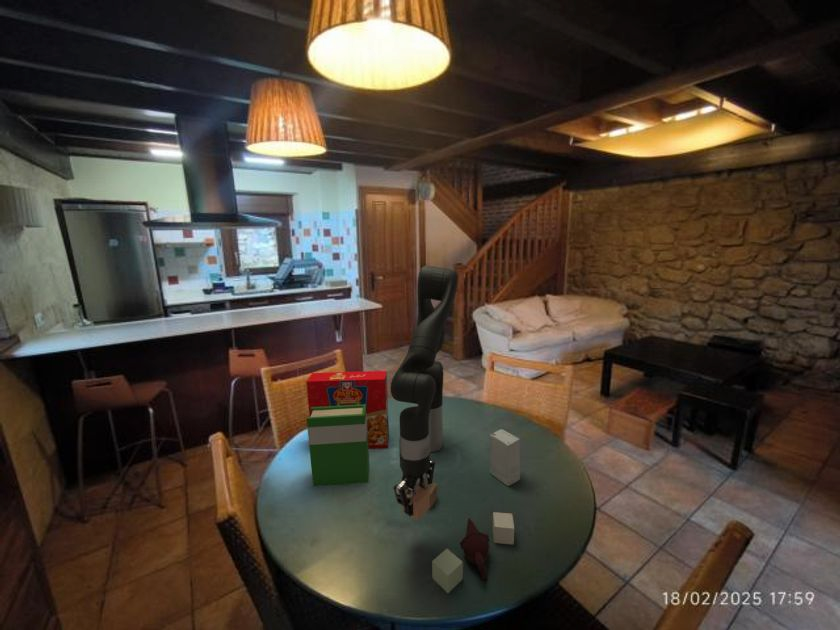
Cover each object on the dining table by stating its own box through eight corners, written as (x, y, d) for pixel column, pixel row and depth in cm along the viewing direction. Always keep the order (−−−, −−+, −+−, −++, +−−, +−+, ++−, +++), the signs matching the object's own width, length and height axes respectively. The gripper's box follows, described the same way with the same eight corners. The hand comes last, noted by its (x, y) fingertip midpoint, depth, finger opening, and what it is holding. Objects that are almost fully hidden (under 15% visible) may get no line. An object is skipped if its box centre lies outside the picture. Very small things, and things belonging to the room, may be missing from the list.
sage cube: (432, 578, 85) (432, 561, 84) (447, 565, 88) (447, 548, 87) (447, 593, 81) (447, 575, 80) (462, 579, 84) (462, 561, 83)
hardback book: (313, 486, 116) (306, 418, 110) (317, 471, 123) (311, 407, 118) (368, 482, 117) (364, 415, 112) (369, 467, 125) (365, 404, 119)
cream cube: (493, 542, 94) (494, 526, 93) (492, 527, 99) (493, 512, 98) (513, 544, 93) (514, 528, 92) (511, 529, 98) (512, 513, 97)
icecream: (452, 512, 96) (463, 567, 82) (479, 505, 96) (495, 559, 81) (458, 531, 98) (470, 588, 84) (484, 524, 98) (501, 579, 84)
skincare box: (520, 480, 117) (522, 439, 114) (507, 487, 114) (508, 445, 110) (501, 466, 124) (502, 427, 120) (488, 473, 121) (489, 433, 117)
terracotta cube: (402, 511, 92) (401, 494, 91) (414, 499, 96) (414, 483, 95) (417, 520, 89) (417, 503, 88) (429, 508, 93) (429, 491, 92)
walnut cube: (415, 504, 108) (415, 489, 106) (421, 493, 112) (421, 479, 111) (431, 509, 106) (430, 494, 105) (436, 497, 110) (436, 483, 109)
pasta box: (312, 451, 135) (306, 381, 128) (318, 439, 142) (312, 372, 136) (388, 448, 135) (385, 379, 129) (389, 436, 143) (386, 370, 137)
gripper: (420, 431, 96) (421, 485, 100) (383, 458, 85) (386, 518, 89) (443, 441, 92) (443, 497, 96) (407, 471, 81) (409, 533, 85)
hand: (415, 507), depth 93 cm, fingers closed on terracotta cube, 5 cm apart
